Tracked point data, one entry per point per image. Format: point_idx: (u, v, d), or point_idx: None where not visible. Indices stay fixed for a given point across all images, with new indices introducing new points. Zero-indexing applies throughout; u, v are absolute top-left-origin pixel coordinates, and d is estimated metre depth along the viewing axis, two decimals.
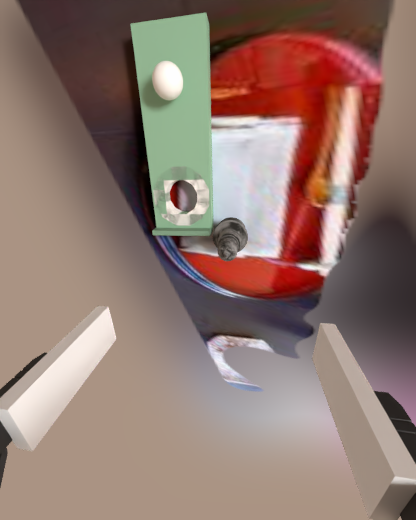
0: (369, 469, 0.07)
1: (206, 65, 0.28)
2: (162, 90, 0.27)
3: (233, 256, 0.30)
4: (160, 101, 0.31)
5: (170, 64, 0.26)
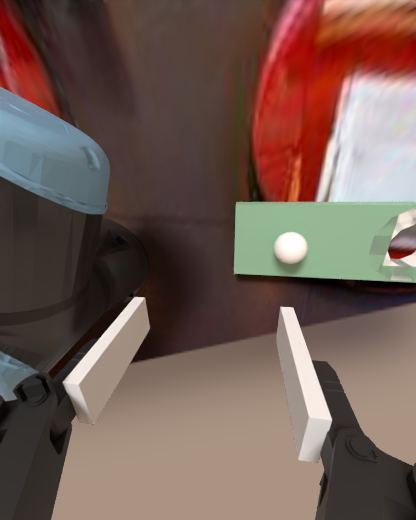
0: (299, 419, 0.09)
1: (276, 205, 0.27)
2: (303, 254, 0.25)
3: None
4: None
5: (282, 244, 0.26)
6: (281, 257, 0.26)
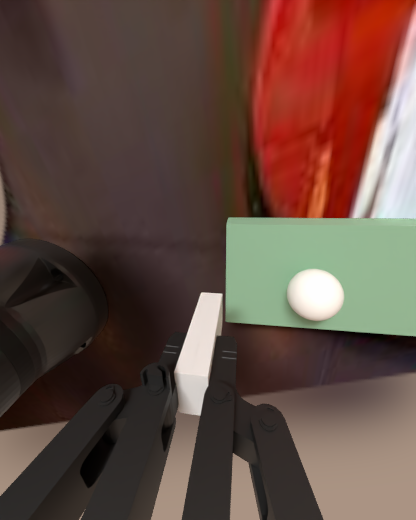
0: None
1: (290, 226, 0.17)
2: (338, 310, 0.15)
3: None
4: None
5: (303, 292, 0.15)
6: (300, 312, 0.16)
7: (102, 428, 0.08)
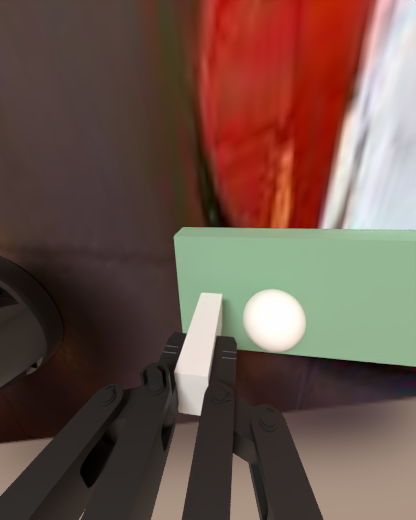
0: None
1: (246, 239, 0.14)
2: (298, 340, 0.13)
3: None
4: None
5: (256, 319, 0.13)
6: (255, 341, 0.13)
7: (102, 428, 0.08)
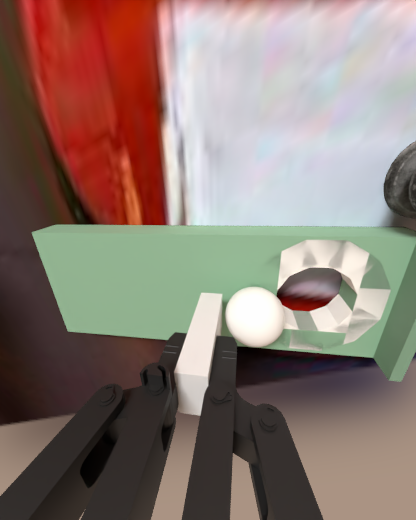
0: None
1: (90, 234, 0.16)
2: (245, 337, 0.13)
3: None
4: (146, 310, 0.18)
5: (229, 300, 0.15)
6: None
7: (102, 428, 0.08)
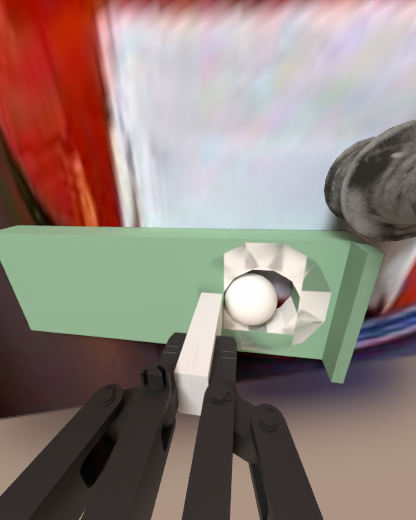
0: None
1: (43, 235, 0.17)
2: None
3: None
4: (103, 310, 0.19)
5: (263, 300, 0.15)
6: (262, 320, 0.15)
7: (102, 428, 0.08)
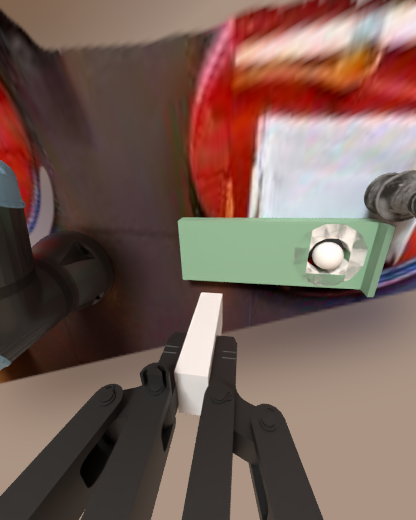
0: None
1: (211, 222, 0.32)
2: None
3: None
4: (234, 265, 0.34)
5: (341, 252, 0.29)
6: (339, 264, 0.30)
7: (102, 428, 0.08)
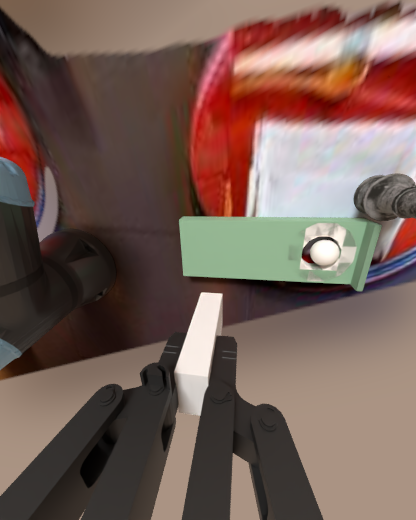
0: None
1: (210, 220, 0.33)
2: None
3: None
4: (232, 261, 0.35)
5: (338, 248, 0.32)
6: None
7: (102, 428, 0.08)
